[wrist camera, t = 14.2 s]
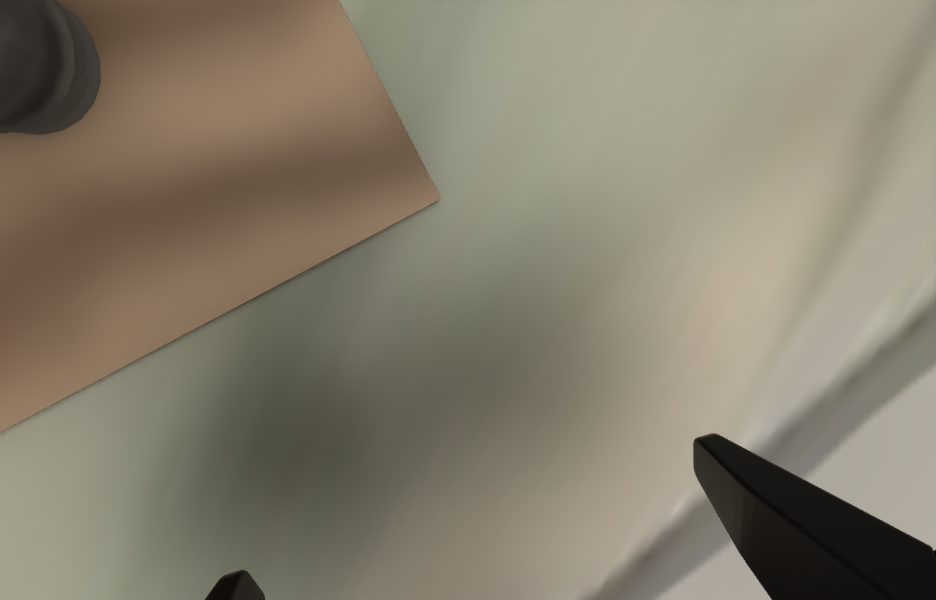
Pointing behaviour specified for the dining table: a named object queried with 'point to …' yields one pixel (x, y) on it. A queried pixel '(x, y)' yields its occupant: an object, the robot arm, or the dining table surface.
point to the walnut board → (189, 183)
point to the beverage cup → (44, 67)
